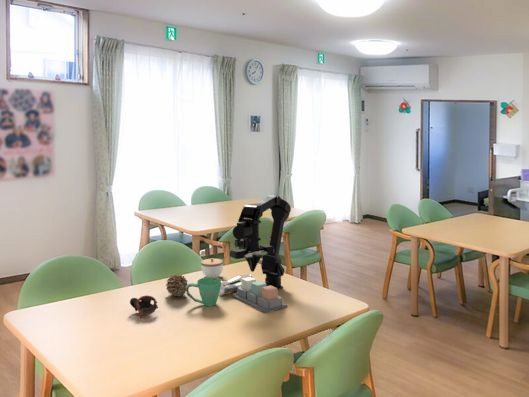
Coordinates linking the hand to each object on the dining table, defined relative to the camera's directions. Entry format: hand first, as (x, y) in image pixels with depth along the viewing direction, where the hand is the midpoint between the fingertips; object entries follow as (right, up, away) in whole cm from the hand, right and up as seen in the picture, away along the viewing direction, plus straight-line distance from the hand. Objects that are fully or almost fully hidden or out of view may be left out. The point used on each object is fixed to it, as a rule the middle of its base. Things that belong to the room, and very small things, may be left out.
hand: (252, 271), depth 215 cm
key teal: (+3, -10, -2) cm, 10 cm away
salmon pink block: (+7, -10, -8) cm, 15 cm away
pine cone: (-34, -11, +10) cm, 37 cm away
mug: (-20, -13, -4) cm, 24 cm away
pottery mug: (-43, -15, -13) cm, 47 cm away
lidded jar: (-20, -8, +34) cm, 40 cm away
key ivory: (-2, -9, +4) cm, 10 cm away
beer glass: (-14, -8, +7) cm, 18 cm away
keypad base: (+3, -13, -1) cm, 13 cm away
